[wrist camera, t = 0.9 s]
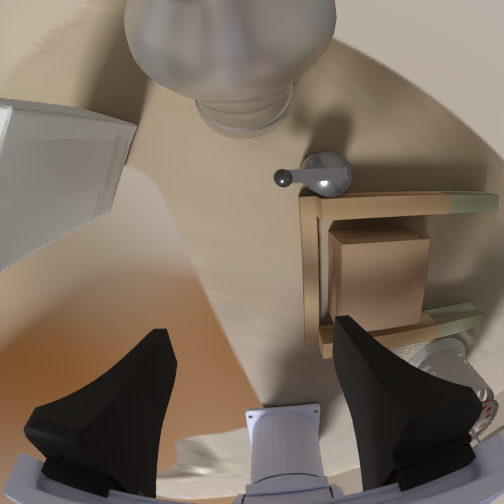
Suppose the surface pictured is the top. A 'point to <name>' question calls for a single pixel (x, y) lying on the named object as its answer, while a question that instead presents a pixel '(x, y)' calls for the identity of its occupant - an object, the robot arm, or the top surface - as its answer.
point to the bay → (374, 206)
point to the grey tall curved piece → (458, 377)
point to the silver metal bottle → (230, 54)
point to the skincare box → (55, 172)
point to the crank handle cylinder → (319, 174)
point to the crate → (377, 276)
